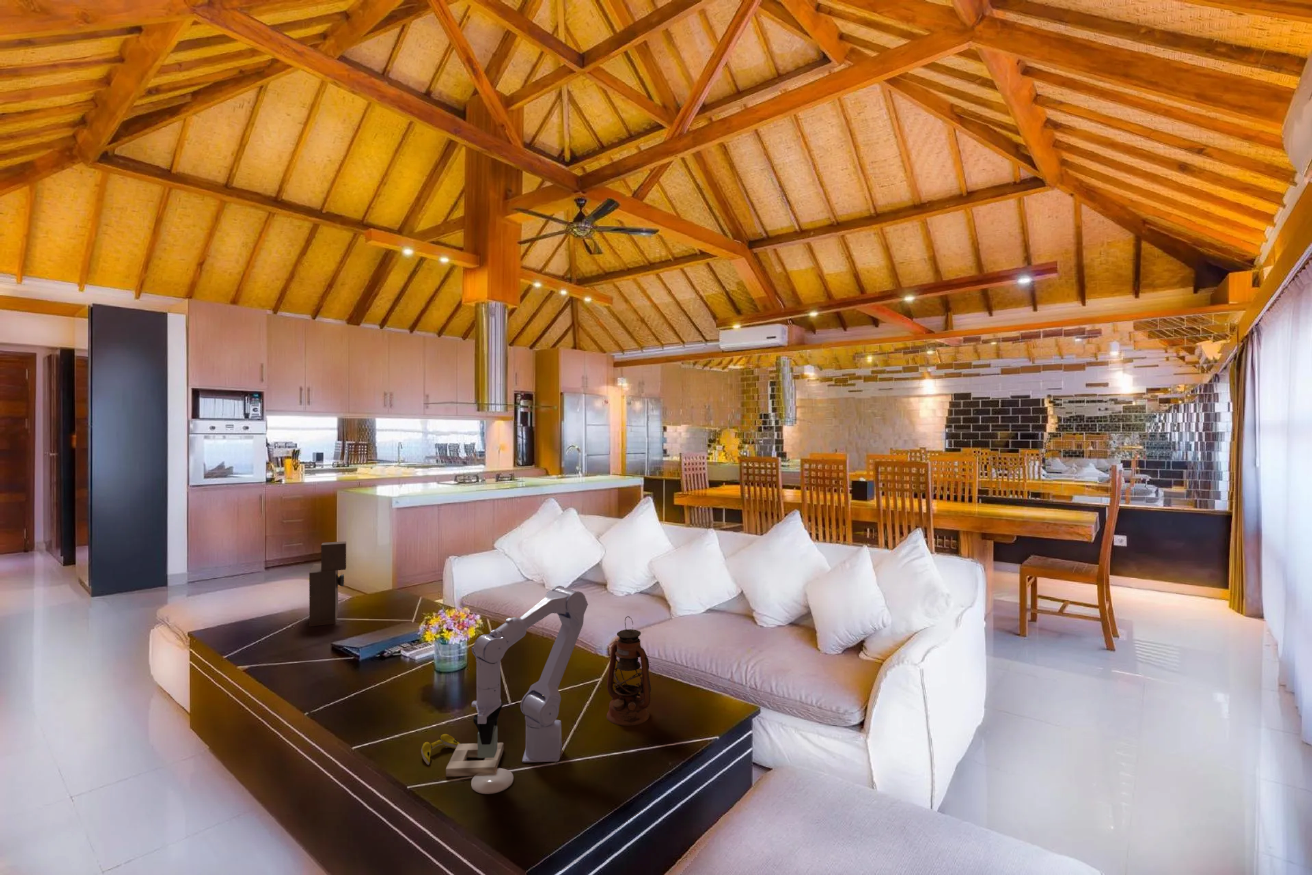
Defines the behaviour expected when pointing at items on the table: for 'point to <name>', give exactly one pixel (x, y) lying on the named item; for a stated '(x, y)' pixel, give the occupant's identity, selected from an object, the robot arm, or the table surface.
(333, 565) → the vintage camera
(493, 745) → the block
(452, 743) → the game controller
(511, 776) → the coaster
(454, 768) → the board
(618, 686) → the lantern
